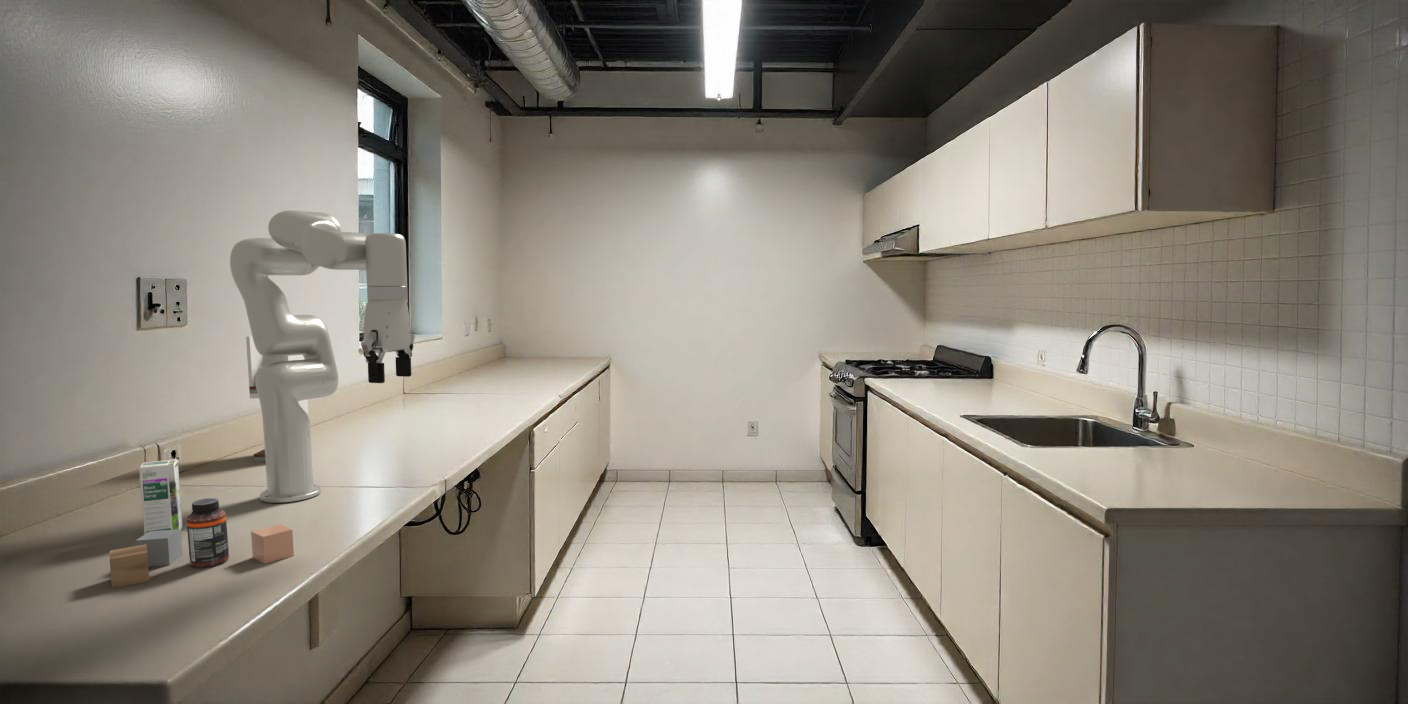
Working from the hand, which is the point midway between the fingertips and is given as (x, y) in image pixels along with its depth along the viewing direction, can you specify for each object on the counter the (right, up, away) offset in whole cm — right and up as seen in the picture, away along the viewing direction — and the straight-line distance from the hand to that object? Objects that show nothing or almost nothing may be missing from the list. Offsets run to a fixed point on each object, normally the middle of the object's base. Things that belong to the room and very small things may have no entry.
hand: (390, 379), depth 155 cm
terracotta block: (-15, -32, -16) cm, 39 cm away
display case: (-57, -25, +64) cm, 89 cm away
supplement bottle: (-25, -32, -18) cm, 45 cm away
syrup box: (-44, -31, -3) cm, 54 cm away
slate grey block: (-34, -32, -18) cm, 50 cm away
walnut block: (-33, -33, -26) cm, 54 cm away
